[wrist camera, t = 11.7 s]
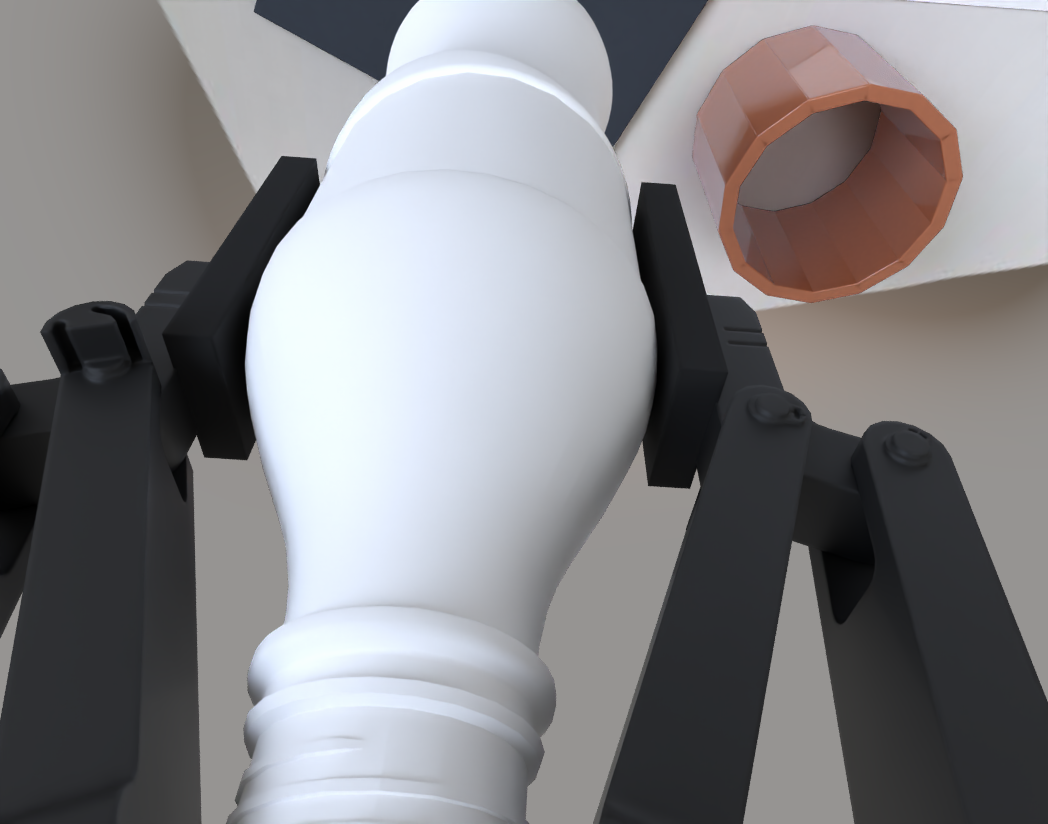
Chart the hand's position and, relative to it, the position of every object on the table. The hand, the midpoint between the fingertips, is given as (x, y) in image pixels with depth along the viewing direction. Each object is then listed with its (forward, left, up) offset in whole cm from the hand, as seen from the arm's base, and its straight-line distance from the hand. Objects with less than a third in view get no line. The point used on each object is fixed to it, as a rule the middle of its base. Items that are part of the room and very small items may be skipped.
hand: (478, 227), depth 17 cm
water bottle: (0, 0, -12) cm, 12 cm away
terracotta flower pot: (+16, +7, -26) cm, 31 cm away
